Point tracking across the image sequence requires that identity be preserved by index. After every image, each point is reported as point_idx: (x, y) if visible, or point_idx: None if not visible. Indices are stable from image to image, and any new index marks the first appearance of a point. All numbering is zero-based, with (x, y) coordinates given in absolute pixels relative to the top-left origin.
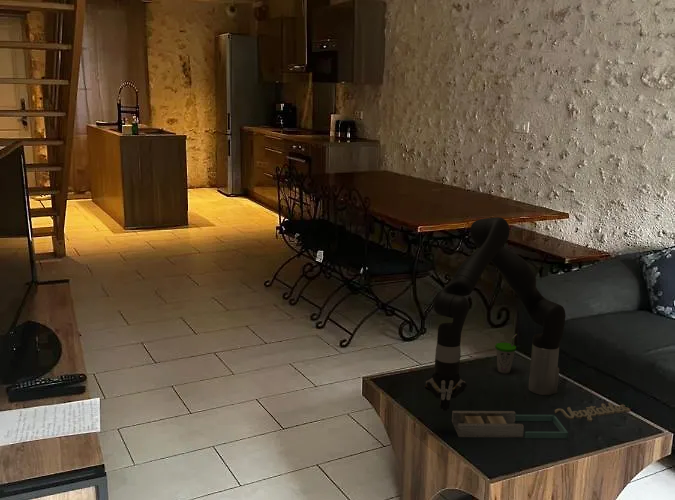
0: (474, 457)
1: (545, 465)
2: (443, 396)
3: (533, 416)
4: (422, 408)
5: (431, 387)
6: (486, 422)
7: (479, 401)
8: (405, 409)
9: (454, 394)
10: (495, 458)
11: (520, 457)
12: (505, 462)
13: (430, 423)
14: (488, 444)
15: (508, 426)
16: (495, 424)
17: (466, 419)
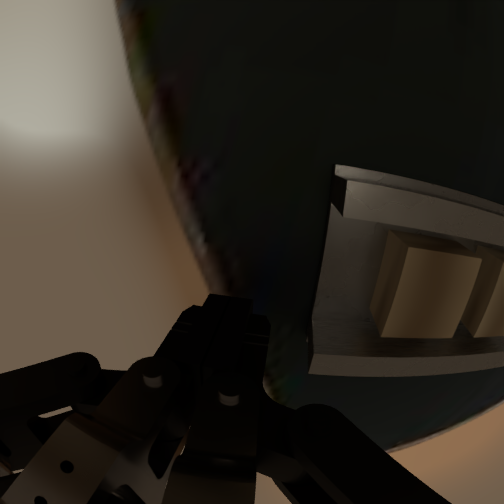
0: None
1: (453, 428)
2: (165, 448)
3: None
4: (212, 3)
5: (11, 458)
6: (484, 251)
7: (492, 15)
8: (130, 27)
9: (293, 492)
10: (371, 421)
11: (434, 412)
12: (383, 431)
13: (212, 158)
14: None
15: (500, 365)
16: (476, 360)
17: (396, 291)
